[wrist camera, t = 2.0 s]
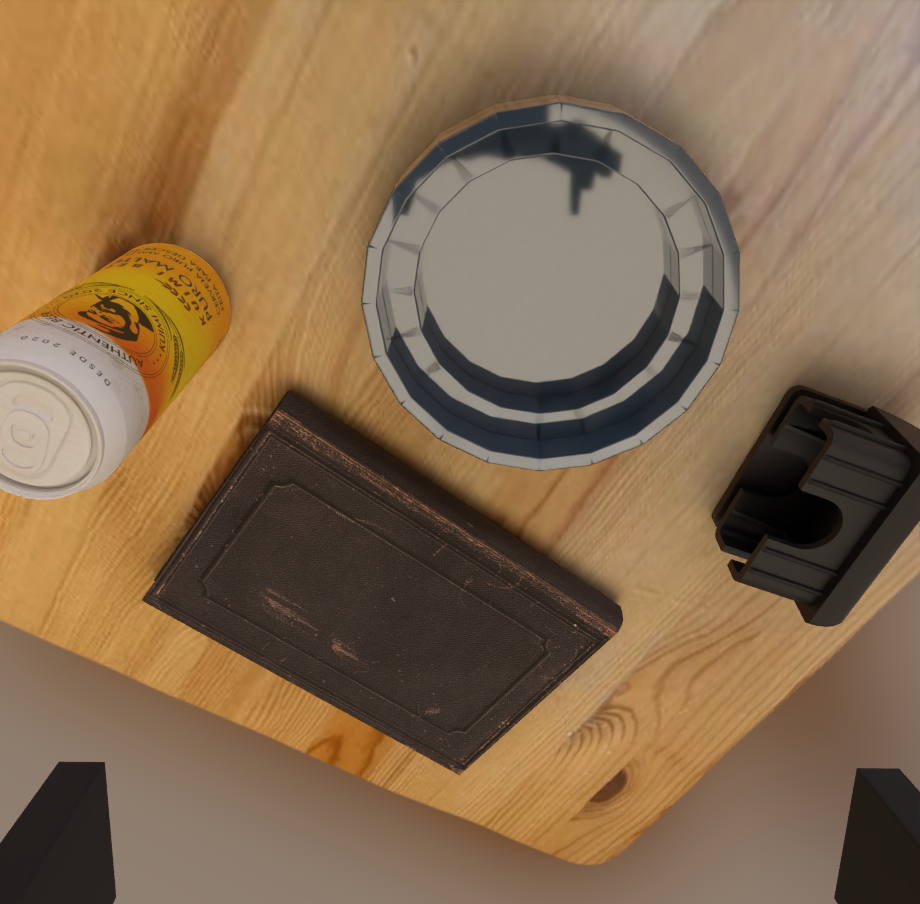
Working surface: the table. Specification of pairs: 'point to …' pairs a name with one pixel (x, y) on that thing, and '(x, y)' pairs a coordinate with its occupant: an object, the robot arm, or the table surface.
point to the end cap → (821, 503)
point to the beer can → (103, 367)
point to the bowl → (550, 283)
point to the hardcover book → (379, 590)
